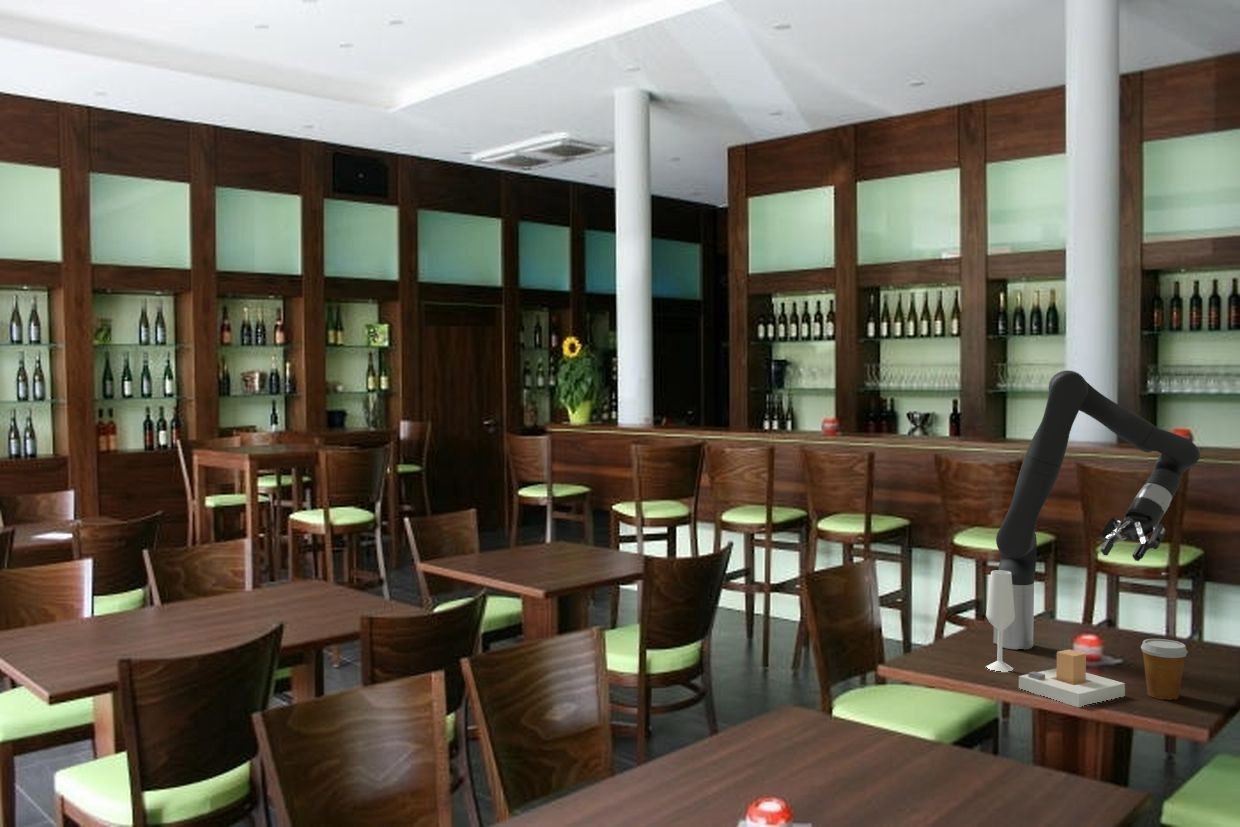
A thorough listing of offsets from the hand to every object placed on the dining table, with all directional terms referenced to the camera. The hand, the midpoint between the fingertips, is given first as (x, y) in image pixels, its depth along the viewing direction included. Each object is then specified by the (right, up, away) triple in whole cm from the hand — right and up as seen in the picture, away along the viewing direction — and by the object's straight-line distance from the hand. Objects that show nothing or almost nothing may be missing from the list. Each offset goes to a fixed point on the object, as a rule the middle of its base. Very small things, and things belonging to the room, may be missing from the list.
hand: (1119, 556), depth 263 cm
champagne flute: (-27, -29, +5) cm, 40 cm away
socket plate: (-18, -29, -15) cm, 38 cm away
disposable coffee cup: (+2, -30, -17) cm, 34 cm away
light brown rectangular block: (-18, -29, -15) cm, 37 cm away
